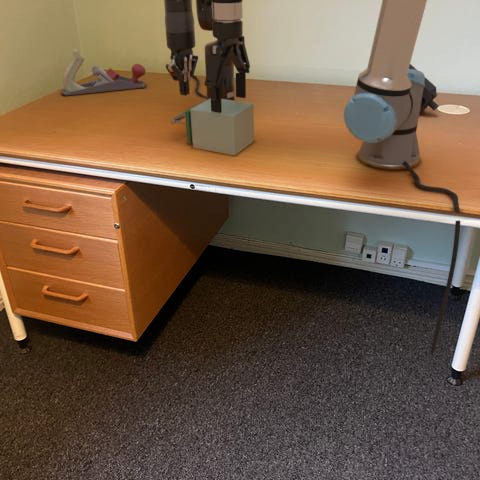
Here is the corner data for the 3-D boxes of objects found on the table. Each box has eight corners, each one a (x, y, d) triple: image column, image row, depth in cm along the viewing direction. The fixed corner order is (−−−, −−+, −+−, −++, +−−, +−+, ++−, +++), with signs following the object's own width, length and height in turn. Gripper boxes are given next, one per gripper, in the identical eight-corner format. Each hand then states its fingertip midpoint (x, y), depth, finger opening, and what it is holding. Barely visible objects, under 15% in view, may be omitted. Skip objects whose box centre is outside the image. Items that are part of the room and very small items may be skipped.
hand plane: (62, 90, 197) (53, 48, 189) (145, 82, 205) (140, 41, 197) (62, 96, 191) (54, 53, 184) (148, 87, 199) (143, 45, 191)
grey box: (192, 147, 148) (190, 109, 142) (213, 134, 157) (211, 97, 151) (234, 155, 143) (233, 116, 137) (253, 141, 151) (253, 103, 146)
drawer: (169, 138, 151) (166, 108, 147) (188, 127, 159) (186, 97, 154) (224, 149, 144) (222, 117, 139) (241, 136, 152) (241, 105, 147)
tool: (376, 92, 179) (403, 55, 168) (419, 129, 175) (449, 94, 164) (367, 96, 175) (394, 59, 164) (411, 135, 171) (441, 99, 160)
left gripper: (181, 23, 145) (186, 86, 154) (153, 32, 135) (160, 99, 144) (205, 25, 142) (208, 89, 151) (178, 34, 132) (183, 103, 141)
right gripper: (237, 11, 142) (238, 90, 153) (187, 27, 124) (192, 116, 135) (262, 13, 139) (261, 93, 150) (215, 30, 121) (218, 120, 132)
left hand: (184, 94), depth 148 cm, fingers closed
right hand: (229, 104), depth 143 cm, fingers open, 13 cm apart
